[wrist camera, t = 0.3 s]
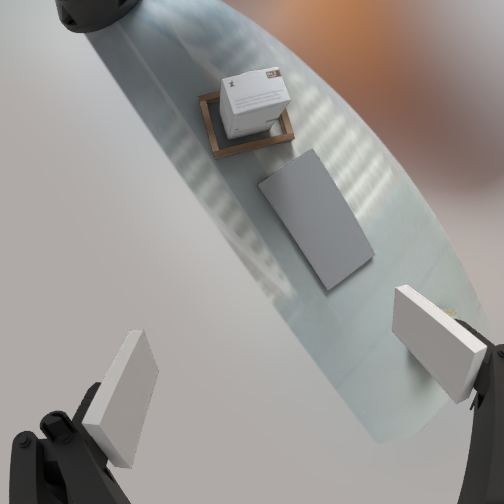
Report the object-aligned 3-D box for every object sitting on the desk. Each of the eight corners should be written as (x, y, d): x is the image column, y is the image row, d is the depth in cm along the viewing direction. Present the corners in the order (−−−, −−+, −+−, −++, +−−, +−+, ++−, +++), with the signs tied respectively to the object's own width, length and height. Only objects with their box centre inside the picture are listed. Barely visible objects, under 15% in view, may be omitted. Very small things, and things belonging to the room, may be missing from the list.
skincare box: (228, 141, 37) (231, 119, 25) (218, 111, 36) (217, 78, 24) (272, 129, 37) (293, 103, 25) (261, 99, 36) (278, 64, 24)
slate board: (256, 184, 38) (257, 184, 37) (310, 149, 38) (312, 148, 37) (325, 288, 42) (328, 290, 41) (372, 253, 42) (375, 254, 41)
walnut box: (199, 101, 35) (198, 96, 33) (274, 84, 35) (277, 79, 33) (214, 159, 37) (214, 157, 35) (291, 140, 37) (294, 138, 35)
